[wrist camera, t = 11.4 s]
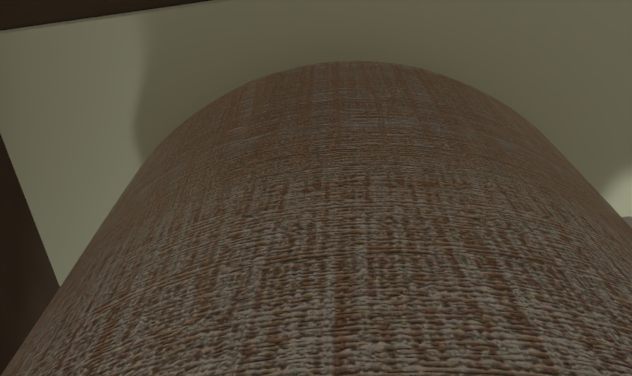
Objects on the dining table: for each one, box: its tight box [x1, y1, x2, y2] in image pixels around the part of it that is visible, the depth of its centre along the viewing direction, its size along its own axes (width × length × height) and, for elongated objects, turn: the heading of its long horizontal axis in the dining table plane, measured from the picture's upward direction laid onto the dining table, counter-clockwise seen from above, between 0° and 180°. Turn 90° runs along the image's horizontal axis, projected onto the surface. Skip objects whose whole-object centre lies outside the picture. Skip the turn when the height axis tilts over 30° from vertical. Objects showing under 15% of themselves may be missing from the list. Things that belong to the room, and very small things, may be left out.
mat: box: [0, 0, 632, 286], centre depth 16 cm, size 16×13×1 cm
